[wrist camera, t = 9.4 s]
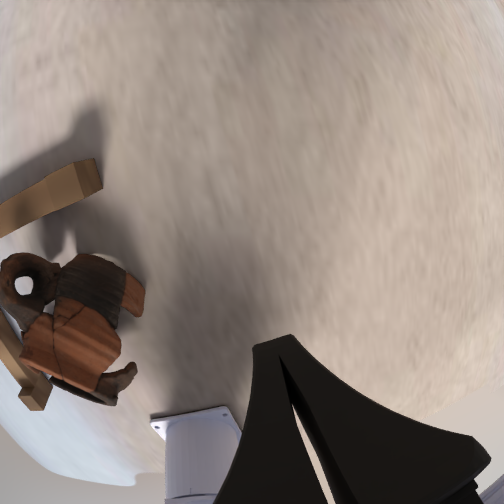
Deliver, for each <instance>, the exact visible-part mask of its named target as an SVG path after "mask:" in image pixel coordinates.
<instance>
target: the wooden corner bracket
mask: <svg viewBox="0 0 504 504" xmlns="http://www.w3.org/2000/svg"><path fill="white" fill-rule="evenodd" d="M44 178H45V179H44V180H42V181H40V182H38V183H36V184H34V185H33V186H31V187H29V188H27V189H25V190H24V191H22V192H20V193H18V194H17V195H15V196H13V197H12V198H10V199H8V200H7V201H5V202H4V203H2V204H0V238H2V237H4V236H5V235H7V234H9V233H11V232H13V231H15V230H17V229H19V228H20V227H22V226H24V225H26V224H28V223H30V222H32V221H34V220H36V219H38V218H40V217H42V216H44V215H47V214H49V213H51V212H53V211H57V210H59V209H61V208H64V207H66V206H68V205H70V204H73V203H75V202H77V201H80V200H82V199H84V198H86V197H88V196H90V195H92V194H93V193H95V192H97V191H99V190H101V189H103V187H102V183H101V180H100V177H99V174H98V171H97V167H96V164H95V161H94V158H93V159H88V160H83V161H78V162H74V163H71V164H69V165H67V166H65V167H63V168H61V169H59V170H57V171H55V172H53V173H51V174H49V175H47V176H45V177H44ZM22 349H23V345H22V344H21V342H20V341H19V339H18V338H17V336H16V335H15V333H14V331H13V330H12V328H11V326H10V325H9V323H8V321H7V320H6V318H5V316H4V314H3V313H2V311H1V309H0V359H1V361H2V362H3V363H4V365H5V366H6V368H7V369H8V370H9V372H10V373H11V374H12V376H13V377H14V378H15V379H16V381H17V382H18V383H19V385H20V386H21V387H22V389H21V391H20V393H19V395H18V397H19V398H20V399H21V401H22V402H23V403H24V404H25V405H26V406H27V407H28V408H29V410H30V411H44V408H45V406H46V403H47V401H48V398H49V396H50V393H51V391H52V388H53V386H52V385H51V384H50V383H49V381H48V380H47V379H46V378H45V376H44V375H43V374H42V372H41V371H40V372H39V374H36V373H34V372H33V371H32V370H30V369H29V368H27V367H26V366H25V365H24V364H23V363H22V362H21V361H20V360H19V355H20V354H21V352H22Z"/></svg>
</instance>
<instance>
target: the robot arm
mask: <svg viewBox="0 0 504 504" xmlns="http://www.w3.org/2000/svg"><path fill="white" fill-rule="evenodd" d="M252 351H253V377H252V386H251V394H250V400H249V405H248V410H247V415H246V420H245V424H244V428H243V431H242V432H241V430H240V429H239V427H238V425H237V423H236V422H235V420H234V418H233V416H232V414H231V413H230V411H229V409H228V408H227V407H226V406H221V407H216V408H212V409H207V410H203V411H198V412H193V413H188V414H182V415H177V416H171V417H165V418H158V419H152V420H150V425H151V426H152V427H153V429H154V430H155V431H156V432H157V433H158V434H159V435H160V436H161V437H162V439H163V440H164V441H165V442H166V451H165V483H166V499H165V504H328V502H327V500H326V497H325V495H324V493H323V490H322V488H321V485H320V483H319V480H318V478H317V475H316V473H315V470H314V468H313V465H312V463H311V460H310V458H309V455H308V453H307V450H306V447H305V445H304V442H303V440H302V437H301V434H300V432H299V429H298V426H297V423H296V419H295V415H294V411H293V407H294V409H295V411H296V413H297V415H298V417H299V419H300V421H301V423H302V425H303V428H304V430H305V432H306V434H307V436H308V438H309V440H310V442H311V444H312V446H313V448H314V450H315V452H316V454H317V456H318V458H319V461H320V463H321V466H322V469H323V471H324V474H325V476H326V479H327V482H328V485H329V487H330V490H331V493H332V495H333V498H334V501H335V503H336V504H504V474H503V475H502V476H501V477H500V478H499V479H498V480H496V481H495V482H494V483H493V484H492V485H491V486H489V487H488V488H487V489H486V490H485V491H483V492H482V493H481V494H480V495H478V494H477V492H476V491H475V490H476V489H477V488H478V485H477V483H476V482H475V480H474V478H475V477H476V476H478V475H479V474H480V473H481V472H482V471H483V470H484V469H485V468H486V467H487V466H488V464H489V463H490V461H491V457H490V456H489V454H488V453H487V451H486V450H485V449H484V447H483V446H482V445H481V444H480V443H479V442H478V441H476V440H475V439H474V438H473V437H472V436H469V435H464V434H459V433H454V432H450V431H446V430H443V429H439V428H436V427H432V426H429V425H426V424H423V423H420V422H418V421H415V420H413V419H411V418H408V417H406V416H403V415H401V414H399V413H396V412H394V411H392V410H390V409H388V408H386V407H384V406H382V405H380V404H378V403H376V402H375V401H373V400H371V399H369V398H368V397H366V396H364V395H363V394H361V393H359V392H358V391H356V390H355V389H353V388H352V387H350V386H349V385H348V384H346V383H345V382H343V381H342V380H341V379H339V378H338V377H337V376H335V375H334V374H333V373H332V372H330V371H329V370H328V369H327V368H326V367H324V366H323V365H322V364H321V363H320V362H319V361H318V360H316V359H315V358H314V357H313V356H312V355H311V354H310V353H309V352H308V351H307V350H306V349H305V348H304V347H303V346H302V345H301V344H300V342H299V341H298V340H297V339H296V338H295V336H294V335H292V334H288V335H285V336H282V337H279V338H276V339H273V340H270V341H266V342H263V343H260V344H256V345H254V347H253V348H252ZM292 405H293V407H292Z"/></svg>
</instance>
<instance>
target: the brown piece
mask: <svg viewBox="0 0 504 504" xmlns="http://www.w3.org/2000/svg"><path fill="white" fill-rule="evenodd" d="M0 266H1V269H0V304H1V305H2V307H3V308H4V309H5V310H6V311H7V312H8V313H9V314H10V315H11V316H12V317H13V318H14V319H15V320H16V321H17V323H18V325H19V327H20V329H21V330H23V331H21V337H22V341H23V345H24V346H23V349H22V352H21V354H20V355H19V360H20V361H21V362H22V363H23V364H24V365H25V366H26V367H27V368H29V369H30V370H32V371H33V372H34V373H36V374H39V372H40V370H41V371H43V372H45V373H47V374H49V375H52V376H51V378H50V379H49V382H50V383H52V384H54V385H55V386H57V387H59V388H61V389H63V390H66V391H68V392H70V393H72V394H74V395H77V396H79V397H82V398H85V399H87V400H90V401H93V402H96V403H99V404H103V405H107V406H116V405H117V400H118V397H117V396H118V393H119V392H120V391H122V390H124V389H125V388H126V387H127V386H128V385H129V384H130V383H131V382H132V380H133V379H134V376H135V375H136V374H137V371H138V370H137V366H136V363H135V362H130V363H128V364H127V366H126V367H125V368H124V369H120V370H118V371H116V372H110V373H103V372H104V371H106V370H107V369H108V367H109V366H110V365H112V364H113V362H114V361H115V360H116V359H117V358H118V357H119V356H120V354H121V340H120V338H119V336H118V334H117V333H116V332H115V329H116V328H117V324H118V318H119V311H120V305H121V306H122V307H125V308H126V309H127V310H128V311H130V312H131V313H132V314H133V315H134V316H135V317H140V316H142V313H143V309H144V297H145V290H144V289H143V287H142V286H141V284H140V283H139V282H138V281H137V280H136V279H135V278H134V277H132V276H131V275H130V274H128V273H126V271H125V270H123V269H121V268H120V267H118V266H116V265H115V264H114V263H113V262H110V261H107V260H105V259H103V258H101V257H98V256H95V255H88V254H78V255H77V256H76V257H75V258H74V259H73V260H72V261H70V262H68V263H67V264H66V265H65V266H63V267H62V268H61V267H60V264H59V263H51V262H49V261H47V260H46V259H44V258H42V257H39V256H37V255H34V254H31V253H15V254H12V255H10V256H9V257H8V258H7V259H4V260H3V261H2V262H1V265H0ZM23 276H29V277H31V279H32V280H33V289H32V292H31V294H27V295H20V294H19V293H18V292H17V290H16V288H15V280H16V279H17V278H19V277H23ZM53 300H55V306H54V312H53V314H54V315H51V314H49V313H46V312H43V310H44V306H45V305H47V304H49V303H50V302H52V301H53ZM24 331H25V332H24Z"/></svg>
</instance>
